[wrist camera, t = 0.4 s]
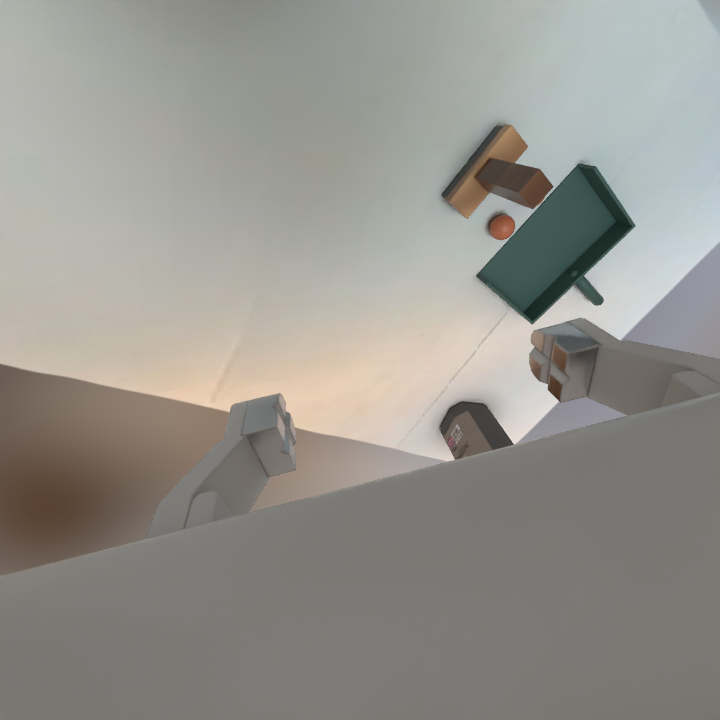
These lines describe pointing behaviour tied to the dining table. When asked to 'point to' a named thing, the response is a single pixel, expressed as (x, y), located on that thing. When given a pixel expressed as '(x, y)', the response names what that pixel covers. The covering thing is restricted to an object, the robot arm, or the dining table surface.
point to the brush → (497, 174)
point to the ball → (502, 227)
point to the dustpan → (559, 245)
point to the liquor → (472, 430)
